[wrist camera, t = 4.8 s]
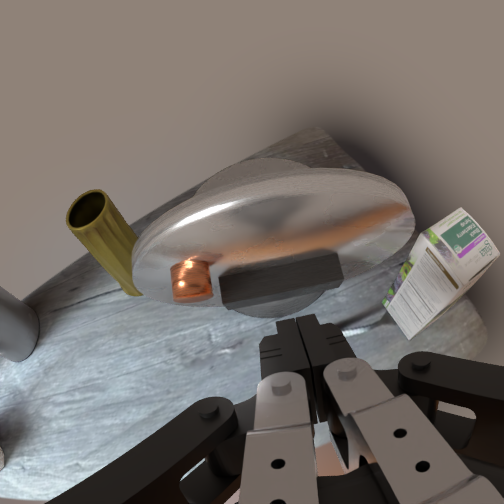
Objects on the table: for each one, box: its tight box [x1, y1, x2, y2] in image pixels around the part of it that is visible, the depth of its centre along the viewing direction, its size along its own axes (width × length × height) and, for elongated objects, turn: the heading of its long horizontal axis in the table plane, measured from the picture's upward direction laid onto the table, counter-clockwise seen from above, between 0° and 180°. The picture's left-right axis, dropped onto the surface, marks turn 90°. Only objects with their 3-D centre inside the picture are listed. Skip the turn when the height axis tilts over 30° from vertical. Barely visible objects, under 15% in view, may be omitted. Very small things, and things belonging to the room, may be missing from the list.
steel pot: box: [193, 158, 324, 318], centre depth 36 cm, size 16×16×9 cm
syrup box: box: [382, 207, 500, 340], centre depth 27 cm, size 6×6×14 cm
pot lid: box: [132, 168, 415, 310], centre depth 19 cm, size 17×17×3 cm
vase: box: [66, 189, 143, 296], centre depth 35 cm, size 6×6×14 cm
